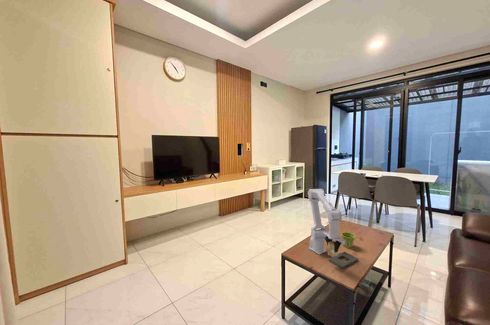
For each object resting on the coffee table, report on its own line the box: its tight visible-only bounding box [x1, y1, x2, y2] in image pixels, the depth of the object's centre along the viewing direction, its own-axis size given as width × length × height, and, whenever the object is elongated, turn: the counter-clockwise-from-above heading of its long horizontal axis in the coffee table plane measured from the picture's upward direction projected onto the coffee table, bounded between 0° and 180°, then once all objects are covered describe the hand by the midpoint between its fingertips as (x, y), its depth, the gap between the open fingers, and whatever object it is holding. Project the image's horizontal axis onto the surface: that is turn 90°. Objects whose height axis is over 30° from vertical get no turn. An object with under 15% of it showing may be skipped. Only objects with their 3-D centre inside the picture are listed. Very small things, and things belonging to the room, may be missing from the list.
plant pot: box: [340, 231, 356, 249], centre depth 153 cm, size 9×9×9 cm
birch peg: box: [327, 240, 339, 257], centre depth 129 cm, size 4×4×8 cm
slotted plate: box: [328, 251, 359, 270], centre depth 134 cm, size 10×17×2 cm, turn 121°
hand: (332, 250), depth 129 cm, fingers closed on birch peg, 4 cm apart
